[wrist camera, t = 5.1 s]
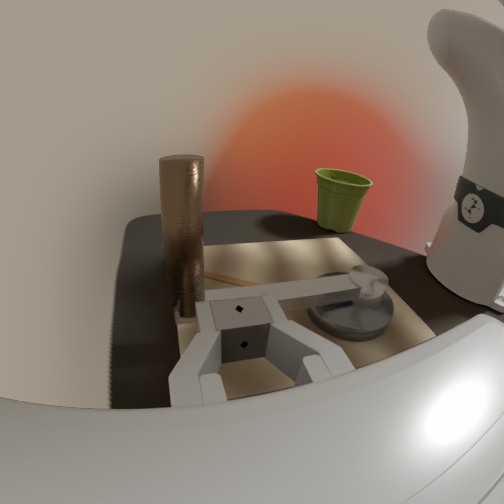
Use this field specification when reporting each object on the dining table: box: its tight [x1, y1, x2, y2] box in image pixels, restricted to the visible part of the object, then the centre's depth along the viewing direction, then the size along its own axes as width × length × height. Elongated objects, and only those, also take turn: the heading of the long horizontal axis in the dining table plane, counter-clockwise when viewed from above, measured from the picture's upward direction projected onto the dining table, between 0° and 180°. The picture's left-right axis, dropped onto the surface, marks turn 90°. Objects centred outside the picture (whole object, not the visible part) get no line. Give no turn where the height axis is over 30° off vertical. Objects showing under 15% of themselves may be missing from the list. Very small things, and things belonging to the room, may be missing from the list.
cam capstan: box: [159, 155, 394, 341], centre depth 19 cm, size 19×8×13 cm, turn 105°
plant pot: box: [315, 168, 373, 233], centre depth 43 cm, size 9×9×9 cm
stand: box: [177, 238, 436, 401], centre depth 26 cm, size 22×20×2 cm
